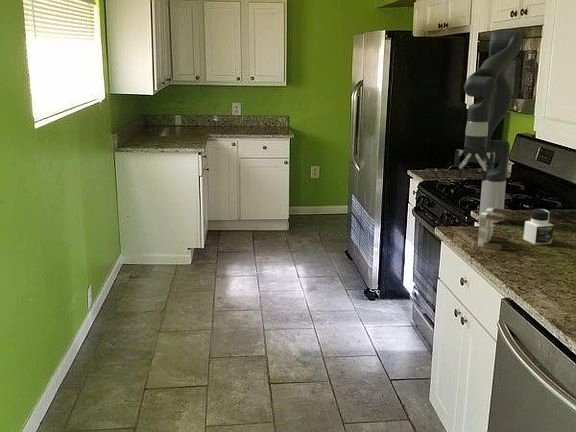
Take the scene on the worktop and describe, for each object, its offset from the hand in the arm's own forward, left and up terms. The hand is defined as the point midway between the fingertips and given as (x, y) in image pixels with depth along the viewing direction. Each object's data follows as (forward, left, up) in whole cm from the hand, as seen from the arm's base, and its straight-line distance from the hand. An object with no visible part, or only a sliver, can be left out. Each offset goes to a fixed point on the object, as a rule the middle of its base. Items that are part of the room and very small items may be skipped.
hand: (472, 179), depth 220 cm
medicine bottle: (-12, +22, -23) cm, 34 cm away
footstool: (0, +9, -23) cm, 25 cm away
